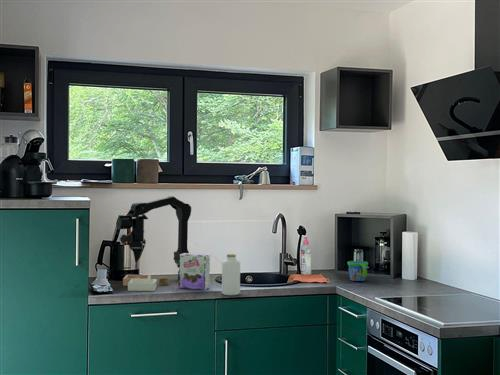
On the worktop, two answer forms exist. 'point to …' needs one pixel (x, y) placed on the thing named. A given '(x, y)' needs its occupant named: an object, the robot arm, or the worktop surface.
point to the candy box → (194, 271)
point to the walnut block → (163, 281)
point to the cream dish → (142, 285)
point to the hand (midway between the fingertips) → (137, 260)
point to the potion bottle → (231, 275)
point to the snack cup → (357, 270)
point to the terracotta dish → (129, 277)
